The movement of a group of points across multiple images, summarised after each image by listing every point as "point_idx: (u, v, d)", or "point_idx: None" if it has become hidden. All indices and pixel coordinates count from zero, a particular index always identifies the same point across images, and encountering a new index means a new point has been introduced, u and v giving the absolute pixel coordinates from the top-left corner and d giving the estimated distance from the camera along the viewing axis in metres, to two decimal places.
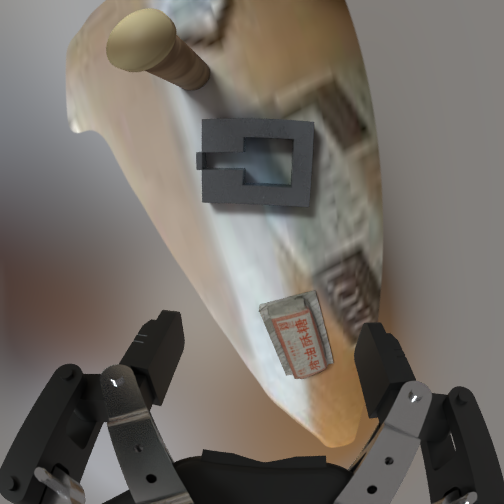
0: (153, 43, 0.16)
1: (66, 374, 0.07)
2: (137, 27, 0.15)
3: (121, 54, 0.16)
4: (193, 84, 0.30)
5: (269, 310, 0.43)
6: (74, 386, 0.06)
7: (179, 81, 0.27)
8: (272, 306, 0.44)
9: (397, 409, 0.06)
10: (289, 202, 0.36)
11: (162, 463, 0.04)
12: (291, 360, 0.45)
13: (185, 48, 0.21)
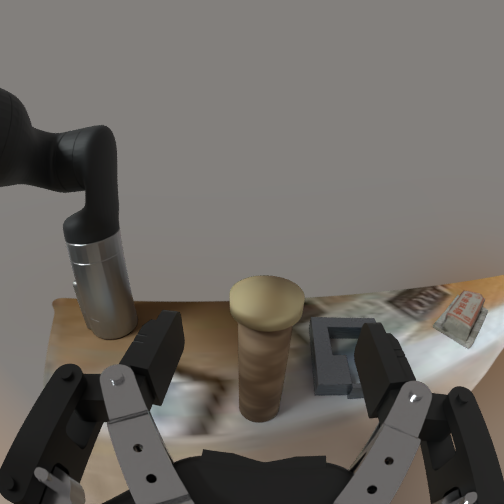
0: (280, 284, 0.25)
1: (66, 374, 0.07)
2: (254, 293, 0.23)
3: (284, 304, 0.22)
4: None
5: (466, 336, 0.36)
6: (74, 386, 0.06)
7: None
8: (463, 337, 0.37)
9: (397, 409, 0.06)
10: None
11: (162, 463, 0.04)
12: (478, 305, 0.41)
13: None
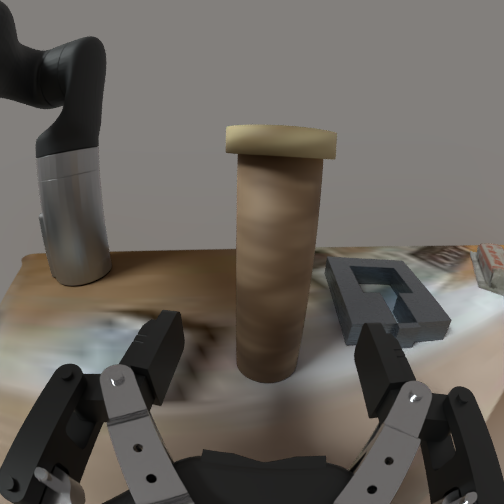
0: None
1: (66, 373, 0.07)
2: None
3: None
4: None
5: None
6: (74, 386, 0.06)
7: None
8: None
9: (397, 409, 0.06)
10: (407, 269, 0.32)
11: (162, 463, 0.04)
12: None
13: None
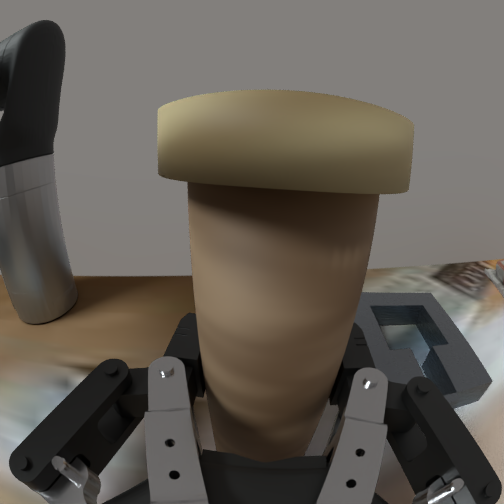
0: None
1: (110, 369, 0.07)
2: None
3: None
4: None
5: None
6: (120, 381, 0.07)
7: None
8: None
9: (354, 399, 0.07)
10: (437, 305, 0.24)
11: (190, 462, 0.04)
12: None
13: None
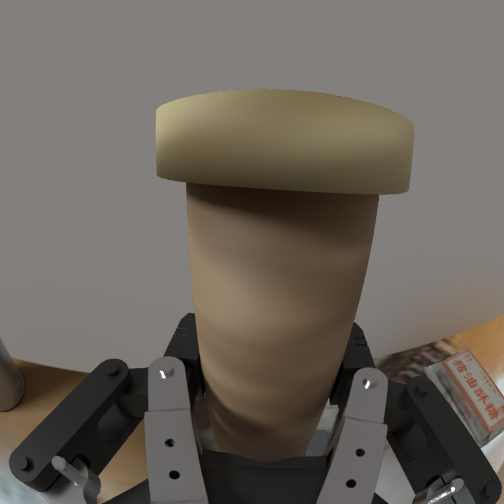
0: None
1: (110, 369, 0.07)
2: None
3: None
4: None
5: None
6: (121, 381, 0.07)
7: None
8: None
9: (354, 399, 0.07)
10: (324, 449, 0.22)
11: (190, 462, 0.04)
12: (483, 371, 0.25)
13: None
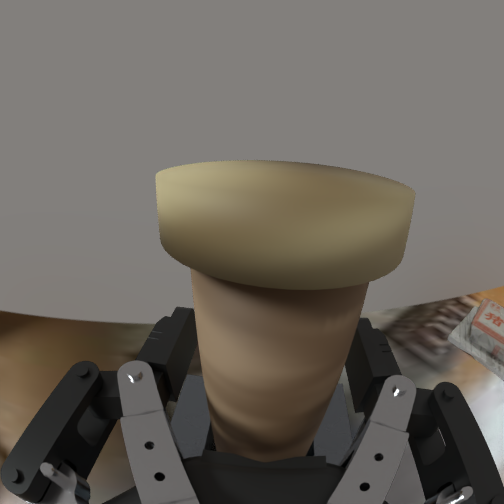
0: (318, 167, 0.08)
1: (82, 371, 0.07)
2: (243, 168, 0.07)
3: (357, 183, 0.05)
4: None
5: None
6: (91, 383, 0.07)
7: None
8: None
9: (382, 404, 0.06)
10: (340, 412, 0.15)
11: (172, 462, 0.04)
12: None
13: None
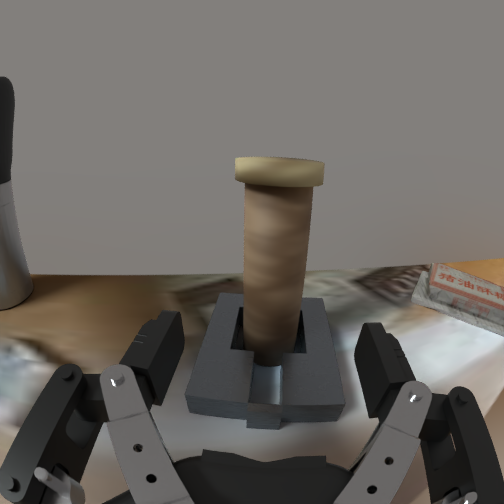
0: None
1: (66, 374, 0.07)
2: None
3: (302, 162, 0.17)
4: None
5: None
6: (74, 386, 0.06)
7: None
8: None
9: (397, 409, 0.06)
10: (321, 311, 0.27)
11: (162, 463, 0.04)
12: (464, 272, 0.31)
13: None
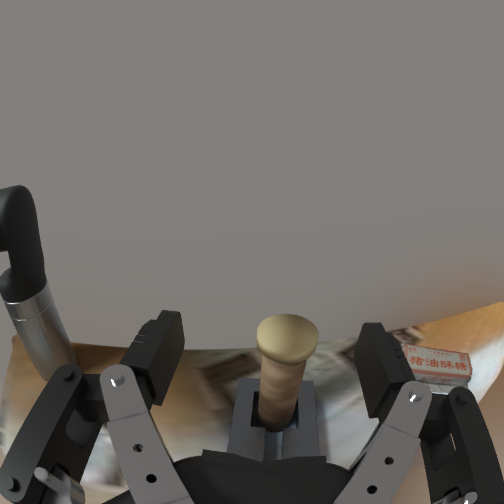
0: (297, 322, 0.29)
1: (66, 374, 0.07)
2: (277, 331, 0.27)
3: (303, 341, 0.26)
4: None
5: None
6: (74, 386, 0.06)
7: None
8: None
9: (397, 409, 0.06)
10: (311, 393, 0.36)
11: (162, 463, 0.04)
12: (429, 349, 0.40)
13: None
